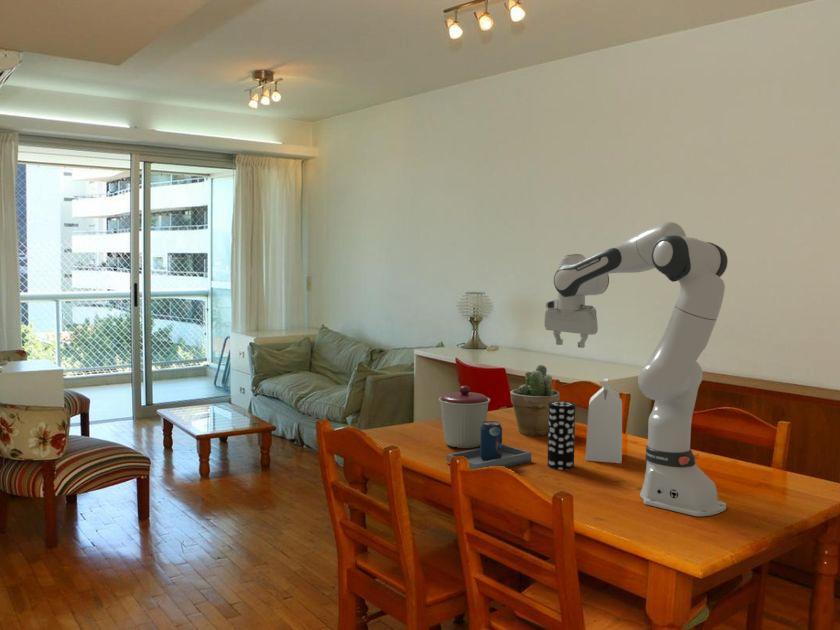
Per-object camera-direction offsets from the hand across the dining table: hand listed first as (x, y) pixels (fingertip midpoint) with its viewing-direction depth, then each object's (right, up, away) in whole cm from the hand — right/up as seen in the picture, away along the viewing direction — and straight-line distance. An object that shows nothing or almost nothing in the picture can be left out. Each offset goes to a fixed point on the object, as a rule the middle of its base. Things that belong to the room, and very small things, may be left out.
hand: (570, 346), depth 243 cm
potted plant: (-6, -35, +37) cm, 51 cm away
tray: (-27, -37, -5) cm, 46 cm away
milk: (+12, -37, +3) cm, 39 cm away
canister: (-34, -36, +18) cm, 52 cm away
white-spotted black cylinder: (-5, -38, -8) cm, 39 cm away
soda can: (-26, -37, -5) cm, 45 cm away
